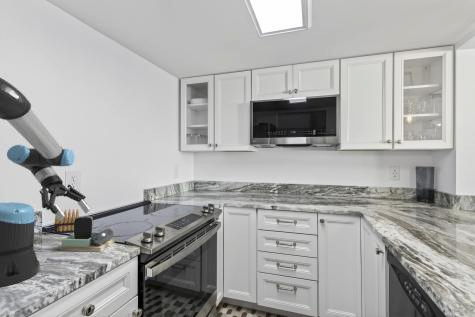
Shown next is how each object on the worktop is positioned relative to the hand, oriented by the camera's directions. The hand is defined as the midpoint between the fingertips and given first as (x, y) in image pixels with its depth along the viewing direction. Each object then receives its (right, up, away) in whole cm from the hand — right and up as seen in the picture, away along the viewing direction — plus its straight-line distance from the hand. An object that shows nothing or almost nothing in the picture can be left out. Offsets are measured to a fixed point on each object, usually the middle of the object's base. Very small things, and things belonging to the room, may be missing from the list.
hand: (76, 214), depth 108 cm
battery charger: (+5, -12, -2) cm, 13 cm away
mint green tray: (+7, -13, -2) cm, 15 cm away
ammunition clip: (-15, -13, +16) cm, 26 cm away
